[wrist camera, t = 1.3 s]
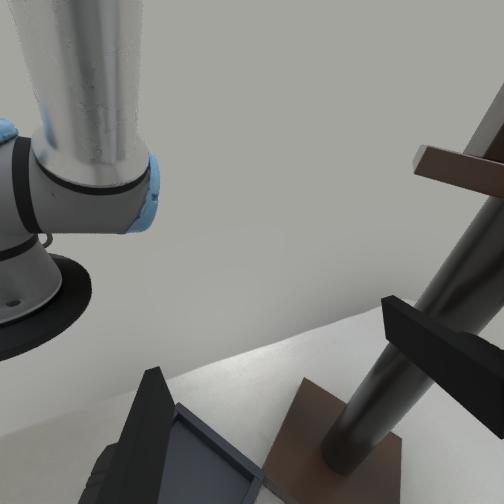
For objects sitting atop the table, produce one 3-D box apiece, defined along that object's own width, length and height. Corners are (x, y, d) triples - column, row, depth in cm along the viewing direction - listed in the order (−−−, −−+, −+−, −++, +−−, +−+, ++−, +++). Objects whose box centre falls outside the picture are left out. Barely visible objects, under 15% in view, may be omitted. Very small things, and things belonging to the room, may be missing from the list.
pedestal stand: (387, 588, 20) (1012, 287, 6) (256, 479, 24) (429, 144, 10) (395, 445, 30) (636, 197, 15) (300, 384, 34) (420, 144, 20)
